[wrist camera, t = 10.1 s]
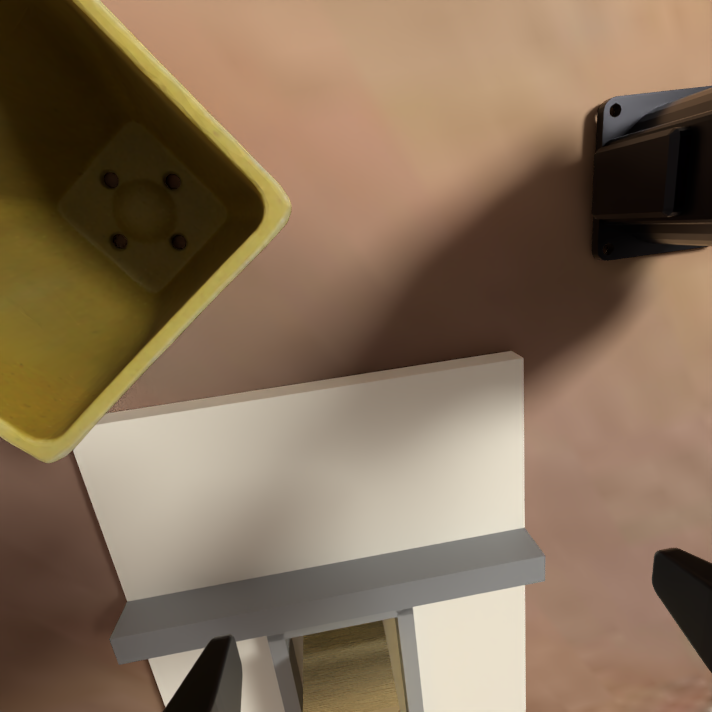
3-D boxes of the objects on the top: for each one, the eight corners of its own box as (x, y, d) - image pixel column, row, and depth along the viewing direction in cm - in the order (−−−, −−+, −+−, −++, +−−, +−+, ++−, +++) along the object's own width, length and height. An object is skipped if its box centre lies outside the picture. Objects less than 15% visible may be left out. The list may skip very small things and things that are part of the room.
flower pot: (164, 363, 19) (46, 476, 10) (-23, 213, 16) (-382, 197, 8) (303, 217, 18) (302, 207, 9) (126, 33, 15) (-101, -215, 7)
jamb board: (511, 350, 20) (547, 372, 17) (516, 694, 27) (542, 752, 24) (79, 417, 19) (36, 453, 16) (199, 762, 26) (184, 833, 23)
